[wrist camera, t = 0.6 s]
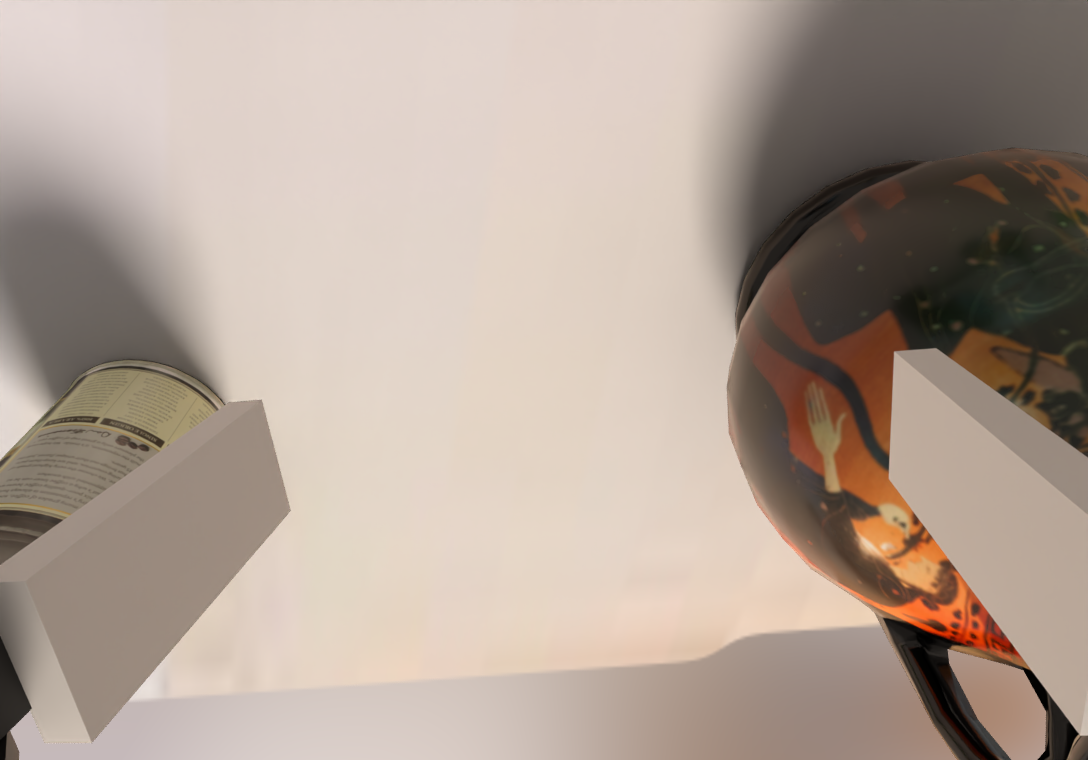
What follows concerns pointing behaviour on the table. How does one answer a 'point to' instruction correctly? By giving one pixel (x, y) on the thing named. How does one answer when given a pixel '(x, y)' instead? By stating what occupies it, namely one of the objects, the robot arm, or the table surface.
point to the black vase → (867, 382)
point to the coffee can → (94, 443)
